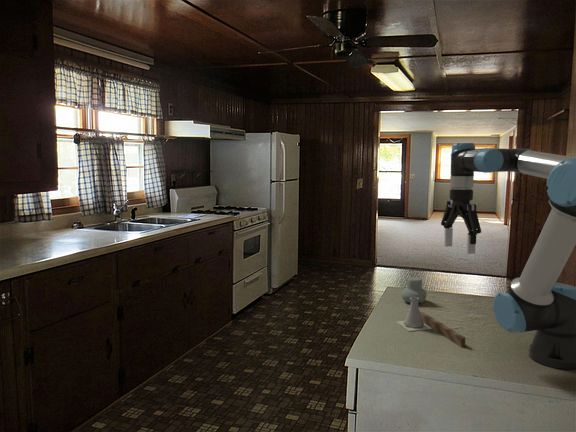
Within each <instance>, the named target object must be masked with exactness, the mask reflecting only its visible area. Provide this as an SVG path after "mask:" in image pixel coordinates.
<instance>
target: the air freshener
mask: <svg viewBox="0 0 576 432" xmlns="http://www.w3.org/2000/svg"><path fill="white" fill-rule="evenodd" d="M422 285H423V280H422V278H421V277H416V276H415V277H413V276H412V277H407V286H406V287H405V288H403V290H402V292H401V297H402V298H401V299H402V300H403V301H405V302H406V303H408V304H409V303H410V304H411V300H410V298H411V297H418V298H419V300H418V305H419V303H420V304H422V303H424V302H425V301H426V298H427V291H426V289H424V288H423V286H422Z"/></svg>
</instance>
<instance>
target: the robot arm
mask: <svg viewBox="0 0 576 432" xmlns="http://www.w3.org/2000/svg"><path fill="white" fill-rule="evenodd" d="M475 172H476V173H484V174H487V173H489V174H490V173H501V172H502V173H503V172H507V173H509V172H510V173H512V172H513V173H517V174H523V175H528V176H533V177H537V178H542V179H546V187H547V188H548V189H547V190H546V192H547V193H546V194H547V195H548V197H549V198H548V204H549V205H550V208H551V209H550V212H549V214H548V216H547V219H546V221H545V223H544V225H543V227H542V229H541V232H540V234H539V236H538V238H537V240H536V242H535V244H534V247H533V248H532V251H531V252H530V254H529V258H528V259H527V261H526V264H525V266H524V268H523V269H522V271H521V275H520V277H515V278H513V279H512V280H511V282H510V284H509V286H508V288H507V290H506V291H501V292H499V293H497V294H496V295H494V298H493V302H492V307H493V308H492V310H493V313H494V317H495V320H496V321H497V323H498V324H499V325H500V327H502V329H503V330H505V331H507V332H509V333H513V334H514V333H520V334H521V333H525V332H532V331H535V333H534V336H533V339H532V342H531V344H529V348H528V356H529V357H530V359H531V360H533V361H535V362H536V363H538V364H540V365H544V366H546V367H551V368H556V369H562V370H563V369H564V370H576V286H574V285H570V284H566V283H561V282H558V280H559V277H560V275H561V273H562V271H563V269H564V268H565V266H566V263H567V262H568V259H570V256H571V254H572V252H573V250H574V248H575V246H576V157H575V156H568V155H562V154H555V153H548V152H542V151H537V150H536V151H535V150H532V149H530V148H523V147H521V148H520V147H518V148H492V147H484V148H476V144H475V143H473V142H455V143H453V144H452V145H451V153H450V176H449V177H450V179H449V187H450V189H449V199H450V200H447V201H446V206H445V210H444V212H443V216H442V219H441V222H440V225H441V226H443V228H444V240H443V241H444V244H443V245H444V247H453V232H454V231H453V229H454V228H453V227H454V226H453V225H454V224H455V222H456V220H457V218H458V216H459V217H460V218H462V220H463V221H464V225H465V227H466V229H467V237H466V254H467V255H473V254H475V255H476V244H477V235H478V234H481V233H482V229H481V225H480V220H479V216H478V212H477V204H475V203H474V204H472V203H471V201H472V200H474V190H473V189H472V188H474V181H475V180H474V176H475Z"/></svg>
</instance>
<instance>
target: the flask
mask: <svg viewBox="0 0 576 432" xmlns="http://www.w3.org/2000/svg"><path fill="white" fill-rule="evenodd" d="M410 300H411V303H410V304H409V309H408V311H407V314H406V317H405V318H404V320H403V321H404V324H405V325H406V326H408V327H414V328H417V327H423V326H424V323H423V320H422V317H421V314H420V312H421V311H420V307H419V304H418V300H419V298H418V297H411V298H410Z"/></svg>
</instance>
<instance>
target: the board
mask: <svg viewBox="0 0 576 432" xmlns="http://www.w3.org/2000/svg"><path fill="white" fill-rule="evenodd" d="M404 321H405V320H398V321H397V320H396V321H395V323H396V324H397V325H399V326H400V327H402V328H403V329H404V330H406V331H407V332H409V331H410V332H417V331H429V330H432V328H431V327H429V326H427V325H426V324H424V326H423V327H417V328H414V327H408V326H406V325H405V324H404Z"/></svg>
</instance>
